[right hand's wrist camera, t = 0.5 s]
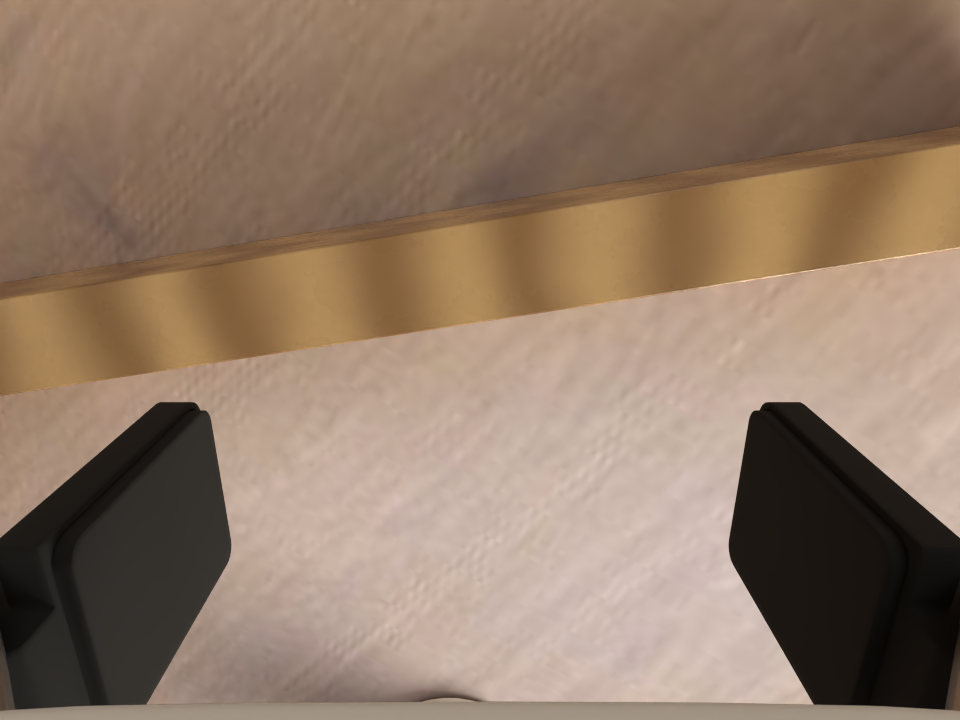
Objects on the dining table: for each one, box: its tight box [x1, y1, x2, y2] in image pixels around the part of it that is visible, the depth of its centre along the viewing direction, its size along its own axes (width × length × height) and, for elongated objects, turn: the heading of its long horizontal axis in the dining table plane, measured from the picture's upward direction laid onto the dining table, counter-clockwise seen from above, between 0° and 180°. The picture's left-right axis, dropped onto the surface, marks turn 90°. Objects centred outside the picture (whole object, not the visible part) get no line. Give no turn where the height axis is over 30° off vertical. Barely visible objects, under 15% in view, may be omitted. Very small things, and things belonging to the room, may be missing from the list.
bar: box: [0, 126, 960, 396], centre depth 35 cm, size 71×5×7 cm, turn 99°
